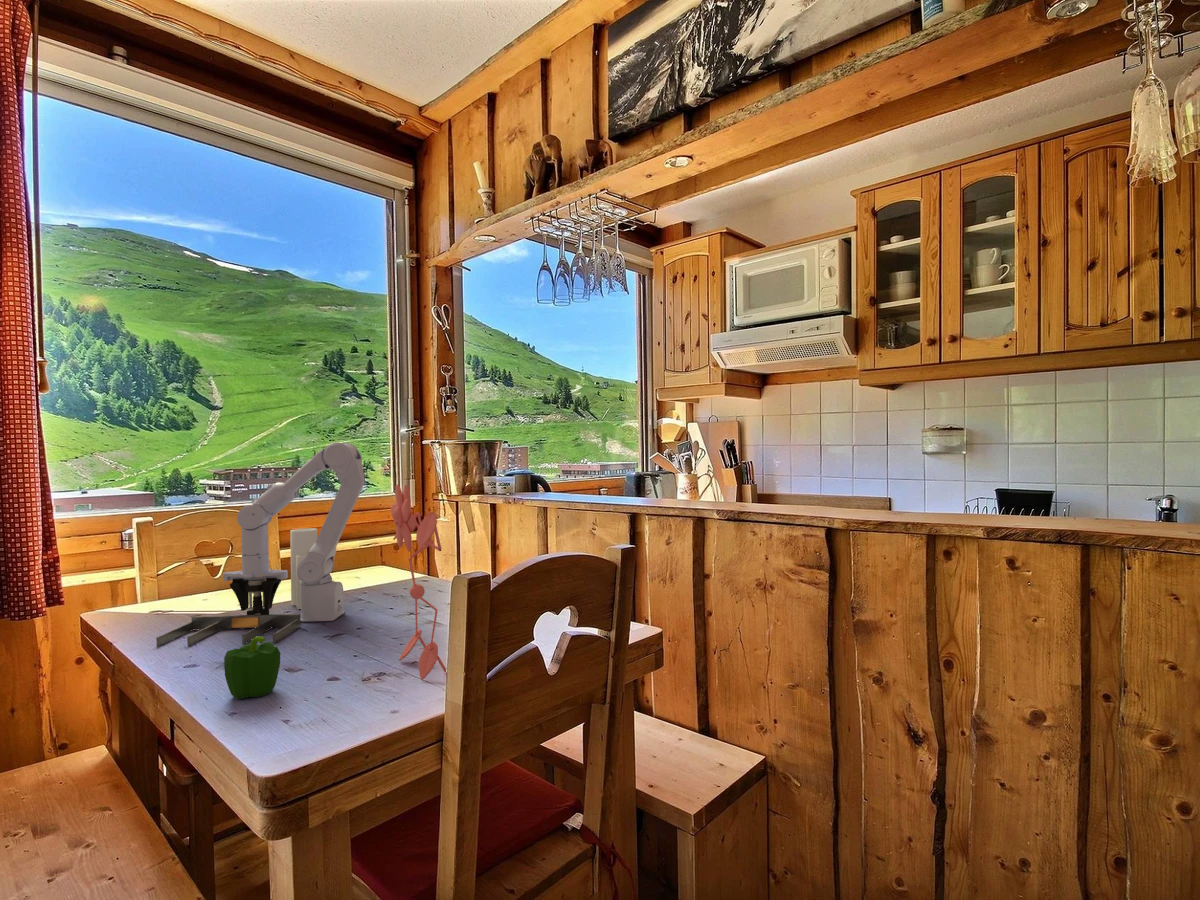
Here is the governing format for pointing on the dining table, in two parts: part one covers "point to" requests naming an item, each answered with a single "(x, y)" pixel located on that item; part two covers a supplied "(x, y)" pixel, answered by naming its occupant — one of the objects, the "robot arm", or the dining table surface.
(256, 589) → the push button
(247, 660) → the bell pepper
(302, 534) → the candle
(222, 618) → the rack
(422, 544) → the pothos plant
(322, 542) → the robot arm
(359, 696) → the dining table surface
